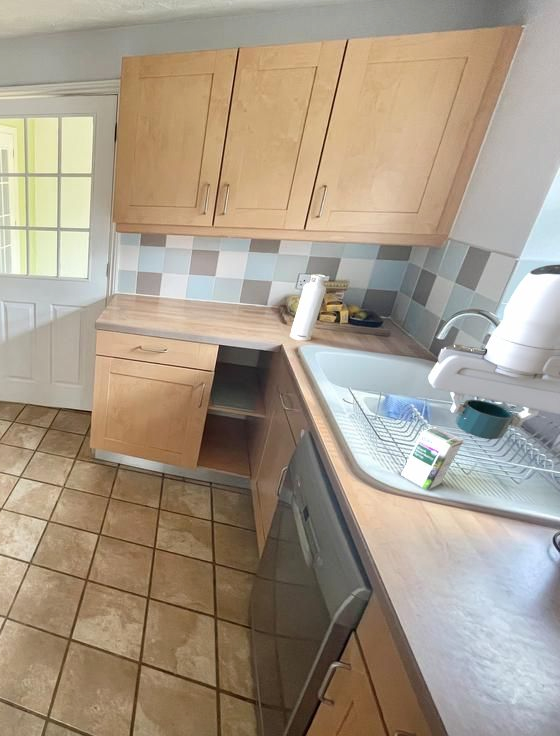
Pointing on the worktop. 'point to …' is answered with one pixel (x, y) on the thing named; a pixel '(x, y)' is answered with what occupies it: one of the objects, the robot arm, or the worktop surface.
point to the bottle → (308, 308)
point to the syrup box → (431, 457)
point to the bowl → (484, 419)
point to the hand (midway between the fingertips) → (483, 418)
